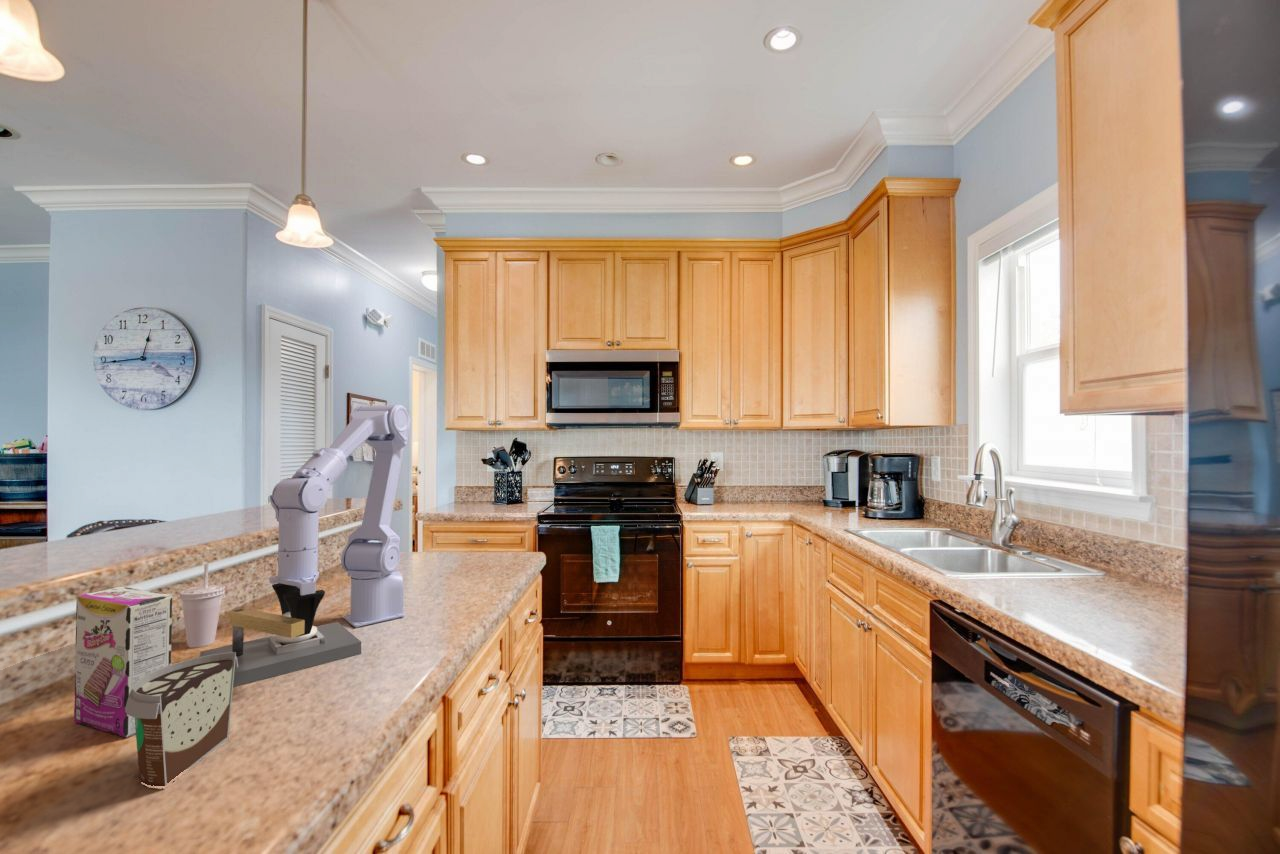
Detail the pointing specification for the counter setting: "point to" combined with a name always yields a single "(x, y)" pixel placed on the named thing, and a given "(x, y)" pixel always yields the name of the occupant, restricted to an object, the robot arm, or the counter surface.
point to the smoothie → (201, 612)
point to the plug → (295, 639)
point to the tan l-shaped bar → (262, 626)
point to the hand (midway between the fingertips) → (297, 629)
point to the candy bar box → (117, 652)
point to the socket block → (290, 653)
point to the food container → (181, 714)
